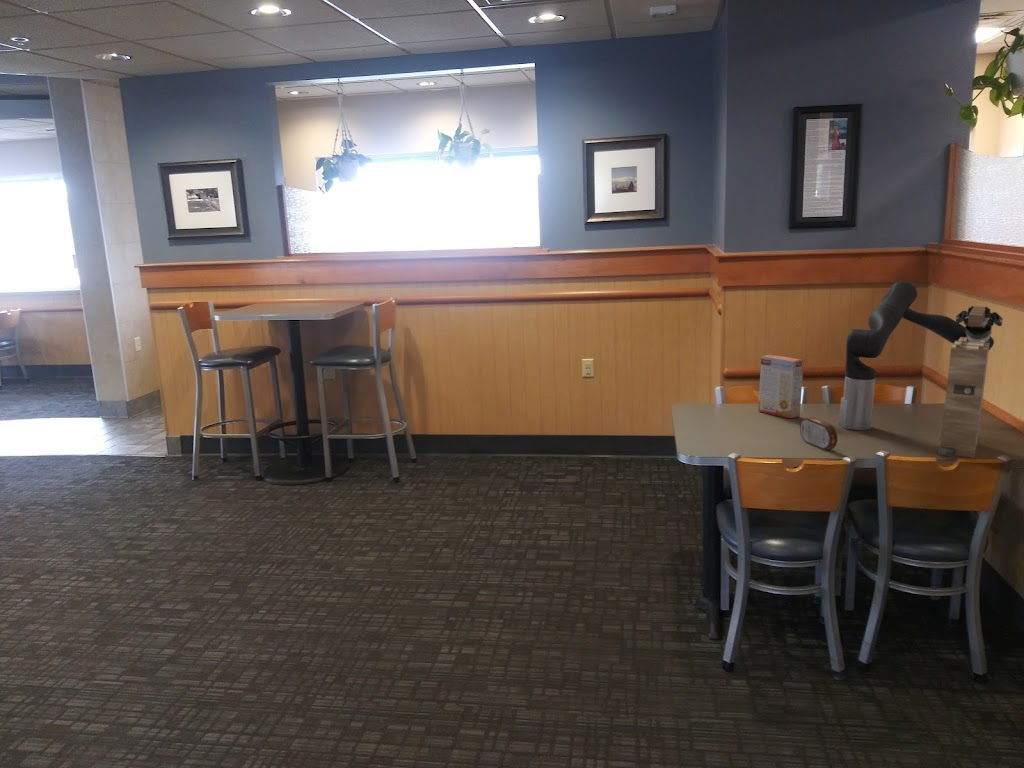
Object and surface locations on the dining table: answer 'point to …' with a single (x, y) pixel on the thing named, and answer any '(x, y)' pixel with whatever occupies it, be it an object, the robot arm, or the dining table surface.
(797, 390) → the cracker box
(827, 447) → the tin
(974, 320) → the bar
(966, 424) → the stand
